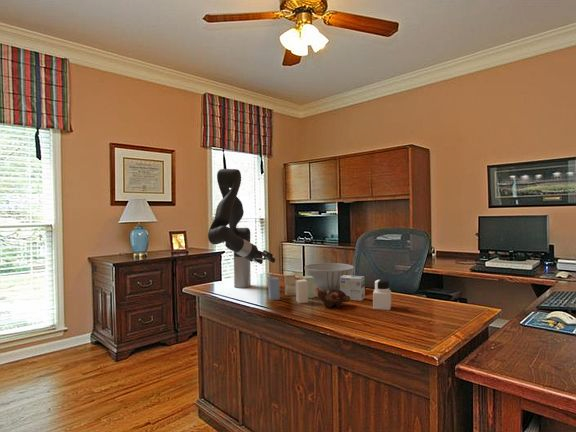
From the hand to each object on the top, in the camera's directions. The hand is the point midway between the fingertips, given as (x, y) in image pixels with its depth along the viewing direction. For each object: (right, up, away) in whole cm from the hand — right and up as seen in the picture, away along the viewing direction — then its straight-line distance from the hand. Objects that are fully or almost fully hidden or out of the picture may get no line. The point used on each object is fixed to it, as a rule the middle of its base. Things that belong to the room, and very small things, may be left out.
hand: (268, 261), depth 184 cm
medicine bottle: (+51, -18, -22) cm, 58 cm away
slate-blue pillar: (+3, -18, -4) cm, 18 cm away
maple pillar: (+11, -17, +5) cm, 21 cm away
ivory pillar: (+16, -18, -10) cm, 26 cm away
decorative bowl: (+32, -17, +17) cm, 40 cm away
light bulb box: (+41, -17, -5) cm, 45 cm away
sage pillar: (+20, -17, -1) cm, 26 cm away
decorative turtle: (+30, -18, -19) cm, 40 cm away
